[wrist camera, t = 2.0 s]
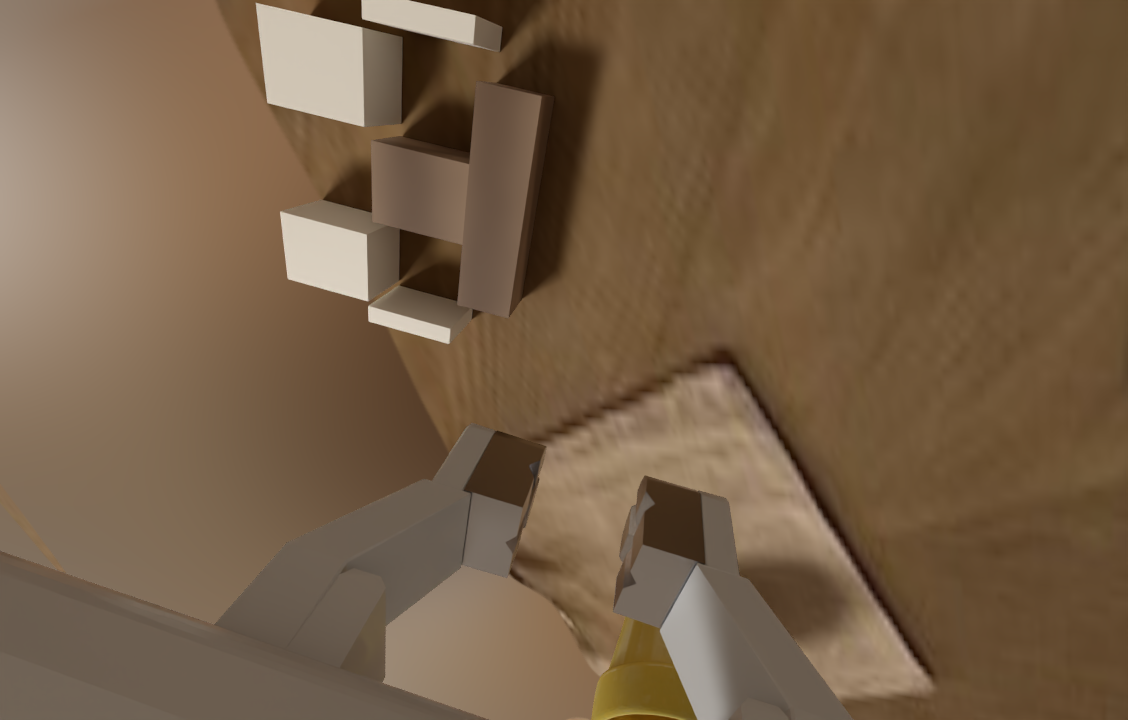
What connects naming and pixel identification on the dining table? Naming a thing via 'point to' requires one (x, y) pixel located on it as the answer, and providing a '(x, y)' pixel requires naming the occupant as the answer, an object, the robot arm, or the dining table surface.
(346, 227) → the cream T dock
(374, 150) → the walnut T block
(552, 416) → the dining table surface
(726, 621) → the robot arm
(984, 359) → the dining table surface
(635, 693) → the plant pot
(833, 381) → the dining table surface
